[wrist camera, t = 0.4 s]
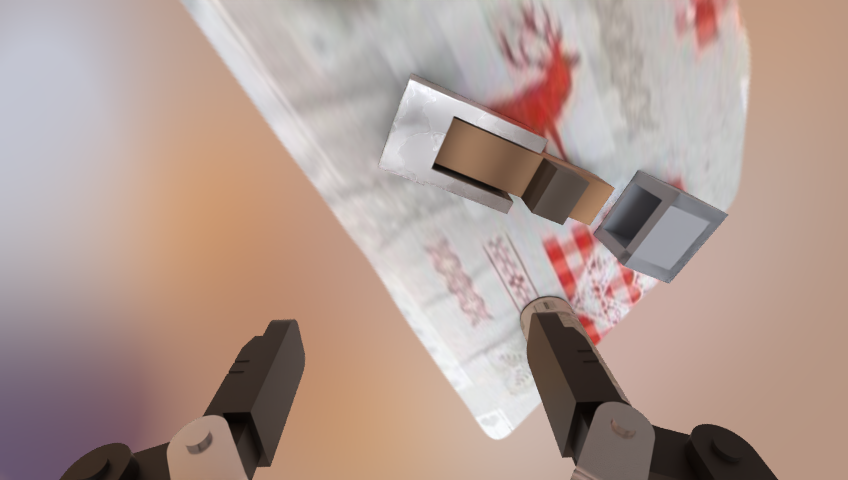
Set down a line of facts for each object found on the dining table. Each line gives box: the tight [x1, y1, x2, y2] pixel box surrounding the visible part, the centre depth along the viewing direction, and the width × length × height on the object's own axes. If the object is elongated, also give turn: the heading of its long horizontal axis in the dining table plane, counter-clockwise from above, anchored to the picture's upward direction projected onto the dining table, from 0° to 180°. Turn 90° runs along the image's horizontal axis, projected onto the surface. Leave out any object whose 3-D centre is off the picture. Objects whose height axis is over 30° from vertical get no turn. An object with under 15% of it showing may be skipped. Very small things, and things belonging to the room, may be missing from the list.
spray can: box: [521, 297, 632, 466], centre depth 37 cm, size 7×7×20 cm
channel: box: [378, 73, 548, 214], centre depth 32 cm, size 12×7×8 cm, turn 67°
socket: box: [594, 170, 728, 283], centre depth 37 cm, size 8×6×7 cm
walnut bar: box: [434, 116, 615, 225], centre depth 32 cm, size 20×4×8 cm, turn 67°
